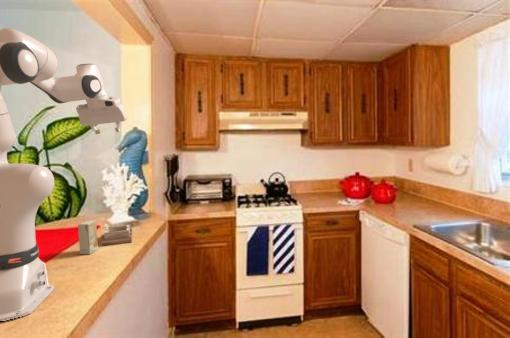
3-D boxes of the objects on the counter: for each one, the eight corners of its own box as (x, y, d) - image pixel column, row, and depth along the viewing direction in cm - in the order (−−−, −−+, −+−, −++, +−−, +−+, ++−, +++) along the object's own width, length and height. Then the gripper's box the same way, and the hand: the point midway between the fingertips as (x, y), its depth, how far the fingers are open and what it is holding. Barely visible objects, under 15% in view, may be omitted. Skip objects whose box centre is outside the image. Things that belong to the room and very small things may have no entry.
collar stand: (131, 242, 137) (131, 232, 137) (101, 246, 133) (100, 236, 133) (132, 231, 154) (131, 222, 154) (105, 234, 150) (104, 225, 149)
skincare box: (90, 254, 124) (88, 224, 123) (79, 254, 124) (77, 224, 123) (98, 248, 130) (96, 220, 129) (88, 248, 130) (86, 220, 129)
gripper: (71, 107, 133) (82, 137, 139) (118, 101, 132) (127, 132, 138) (78, 103, 139) (89, 132, 145) (123, 98, 138) (132, 127, 144)
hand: (108, 132), depth 141 cm, fingers open, 8 cm apart
